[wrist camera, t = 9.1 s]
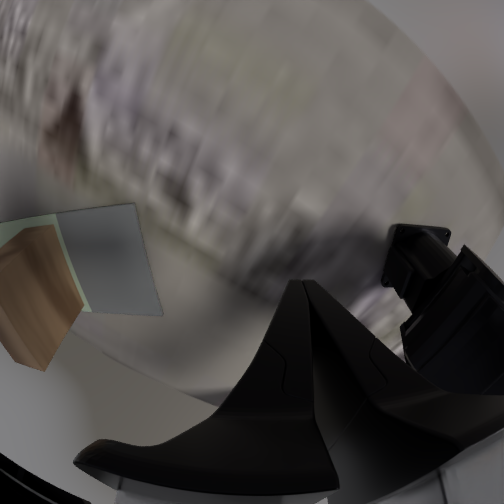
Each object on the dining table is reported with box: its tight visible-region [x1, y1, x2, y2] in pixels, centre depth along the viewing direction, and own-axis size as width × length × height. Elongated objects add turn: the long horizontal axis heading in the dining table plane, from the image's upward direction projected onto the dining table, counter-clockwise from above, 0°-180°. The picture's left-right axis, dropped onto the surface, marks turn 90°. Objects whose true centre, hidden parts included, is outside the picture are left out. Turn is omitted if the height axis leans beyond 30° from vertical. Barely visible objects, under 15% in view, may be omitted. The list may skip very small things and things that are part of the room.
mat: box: [0, 203, 163, 316], centre depth 25 cm, size 24×12×1 cm, turn 93°
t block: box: [0, 224, 84, 372], centre depth 20 cm, size 14×10×10 cm
